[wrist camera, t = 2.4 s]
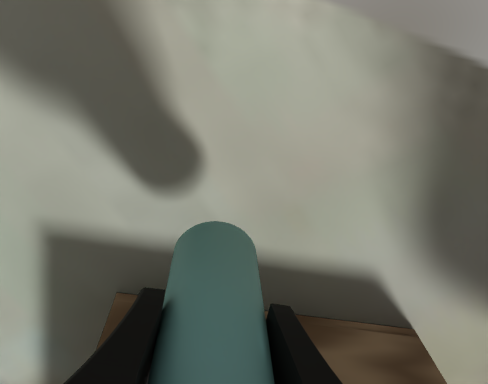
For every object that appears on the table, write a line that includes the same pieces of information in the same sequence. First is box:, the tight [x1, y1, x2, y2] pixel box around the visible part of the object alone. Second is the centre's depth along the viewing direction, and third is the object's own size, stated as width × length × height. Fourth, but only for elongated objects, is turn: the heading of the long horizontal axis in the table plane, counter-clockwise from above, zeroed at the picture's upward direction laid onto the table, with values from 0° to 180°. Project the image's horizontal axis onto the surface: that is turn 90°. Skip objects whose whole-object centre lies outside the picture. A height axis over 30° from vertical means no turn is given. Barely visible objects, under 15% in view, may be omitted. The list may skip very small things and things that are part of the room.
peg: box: [147, 221, 275, 384], centre depth 11 cm, size 3×3×9 cm
